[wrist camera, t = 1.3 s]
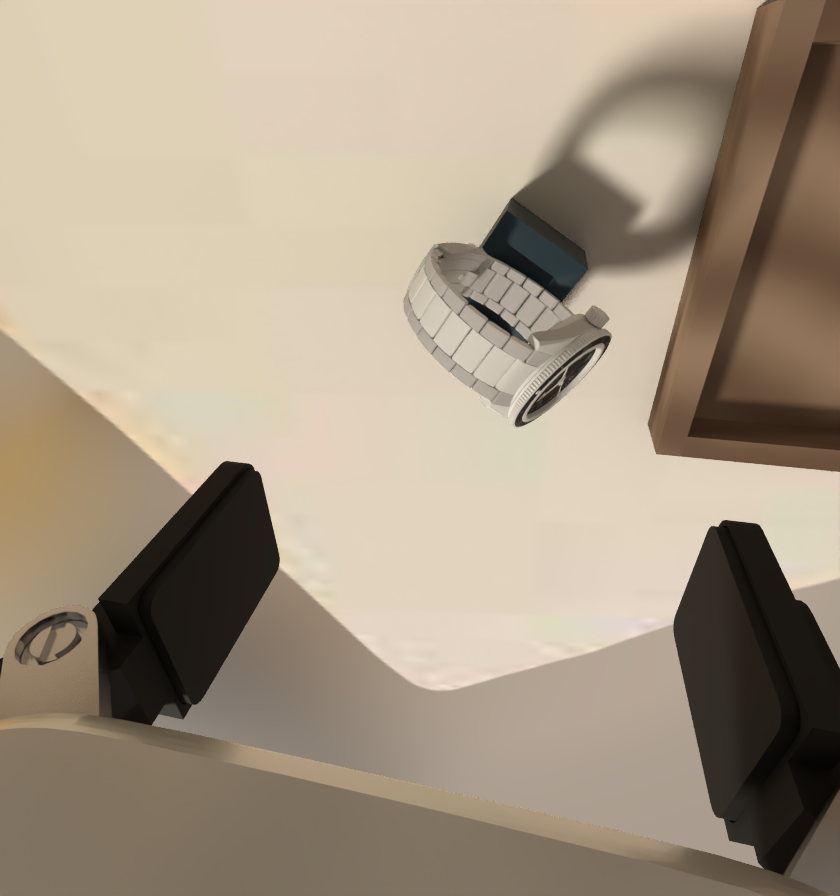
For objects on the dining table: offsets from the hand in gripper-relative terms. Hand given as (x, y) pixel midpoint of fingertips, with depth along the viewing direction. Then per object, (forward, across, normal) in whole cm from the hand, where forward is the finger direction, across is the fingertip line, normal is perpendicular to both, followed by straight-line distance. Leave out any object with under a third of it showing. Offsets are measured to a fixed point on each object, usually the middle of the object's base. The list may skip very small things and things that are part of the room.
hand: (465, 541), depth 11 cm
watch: (+19, 0, 0) cm, 19 cm away
